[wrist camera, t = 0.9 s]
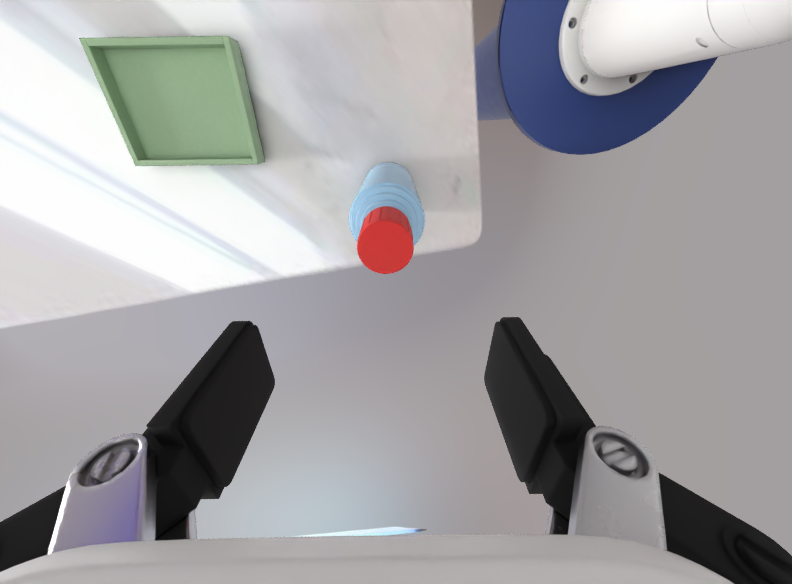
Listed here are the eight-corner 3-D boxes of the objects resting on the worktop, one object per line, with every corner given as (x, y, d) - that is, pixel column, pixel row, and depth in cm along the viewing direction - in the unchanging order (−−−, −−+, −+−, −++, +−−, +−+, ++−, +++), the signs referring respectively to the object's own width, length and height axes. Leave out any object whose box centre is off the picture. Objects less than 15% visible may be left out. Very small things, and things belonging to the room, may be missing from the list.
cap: (411, 205, 21) (414, 219, 18) (410, 252, 23) (413, 273, 20) (360, 205, 21) (354, 220, 18) (363, 253, 23) (359, 274, 20)
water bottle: (414, 161, 35) (435, 196, 18) (413, 214, 38) (430, 286, 21) (361, 162, 35) (332, 198, 18) (365, 215, 38) (343, 287, 21)
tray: (237, 41, 29) (228, 35, 27) (265, 162, 34) (258, 164, 33) (97, 43, 29) (78, 37, 27) (147, 163, 34) (134, 166, 33)
